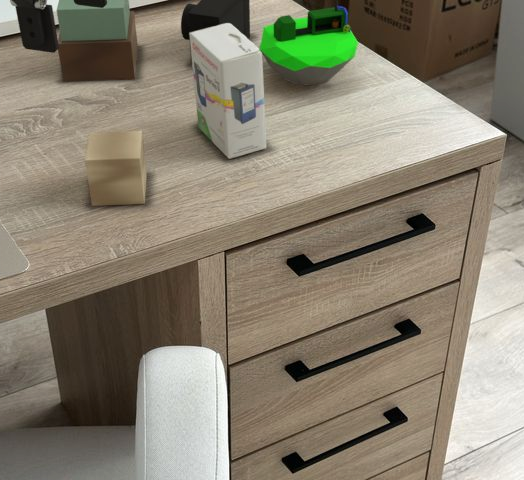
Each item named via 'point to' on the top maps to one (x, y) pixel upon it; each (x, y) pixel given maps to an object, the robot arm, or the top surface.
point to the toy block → (116, 168)
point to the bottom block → (100, 57)
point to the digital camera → (216, 16)
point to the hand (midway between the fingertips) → (67, 26)
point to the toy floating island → (309, 45)
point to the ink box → (229, 89)
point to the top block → (93, 21)
